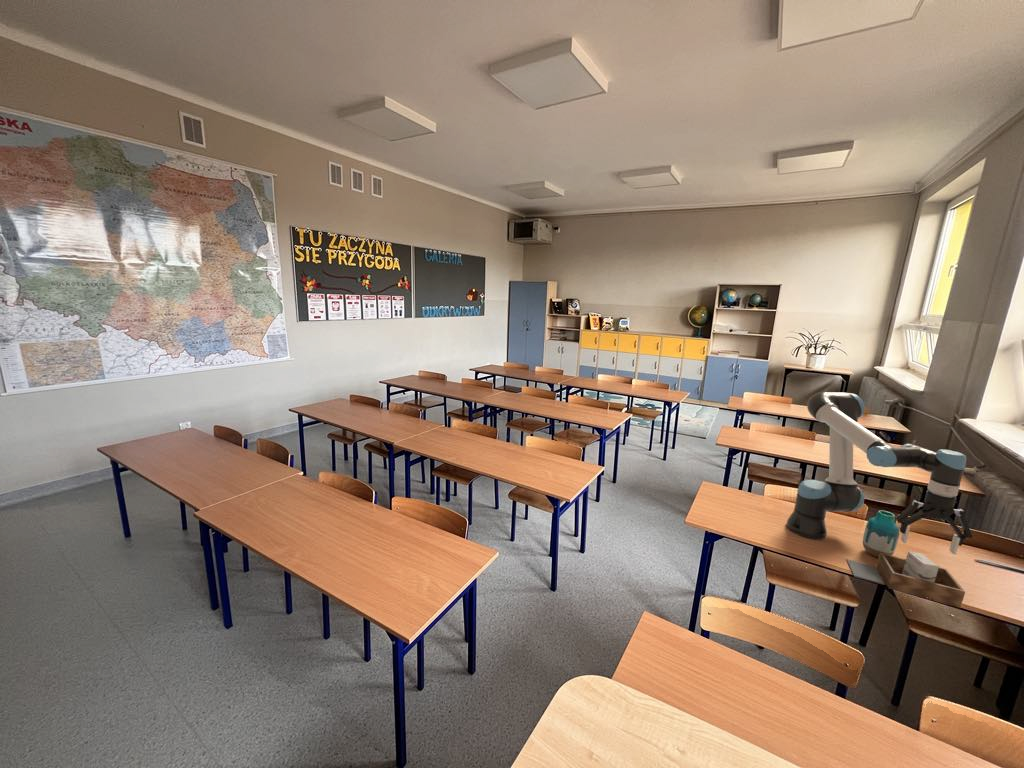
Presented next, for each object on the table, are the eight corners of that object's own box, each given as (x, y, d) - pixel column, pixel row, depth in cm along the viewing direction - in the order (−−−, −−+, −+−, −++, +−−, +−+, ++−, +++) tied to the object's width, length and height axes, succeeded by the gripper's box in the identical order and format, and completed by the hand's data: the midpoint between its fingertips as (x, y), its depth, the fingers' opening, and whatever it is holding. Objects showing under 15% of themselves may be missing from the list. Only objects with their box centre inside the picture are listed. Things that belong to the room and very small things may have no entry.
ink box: (931, 595, 153) (940, 566, 150) (916, 592, 153) (924, 564, 151) (914, 580, 161) (922, 552, 158) (900, 577, 162) (907, 550, 159)
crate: (888, 588, 155) (892, 572, 154) (876, 567, 168) (880, 552, 166) (960, 608, 146) (965, 591, 145) (941, 583, 159) (946, 568, 158)
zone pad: (854, 576, 161) (854, 575, 161) (846, 560, 171) (846, 558, 171) (883, 584, 157) (884, 583, 157) (874, 567, 167) (874, 566, 167)
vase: (898, 565, 170) (909, 522, 166) (866, 558, 173) (876, 516, 169) (885, 550, 180) (896, 510, 176) (855, 545, 183) (865, 504, 179)
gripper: (900, 488, 151) (887, 541, 156) (996, 506, 141) (979, 562, 145) (893, 481, 158) (880, 532, 162) (984, 497, 147) (968, 552, 151)
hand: (927, 546), depth 153 cm, fingers open, 13 cm apart
